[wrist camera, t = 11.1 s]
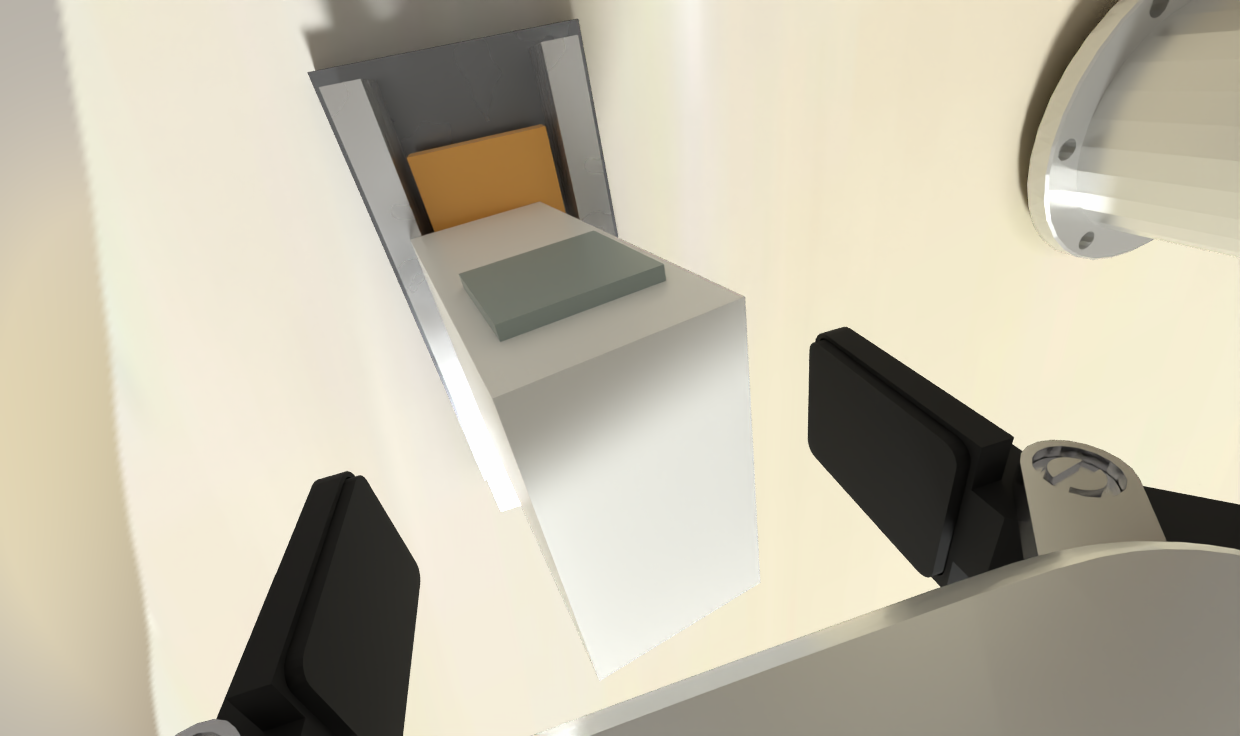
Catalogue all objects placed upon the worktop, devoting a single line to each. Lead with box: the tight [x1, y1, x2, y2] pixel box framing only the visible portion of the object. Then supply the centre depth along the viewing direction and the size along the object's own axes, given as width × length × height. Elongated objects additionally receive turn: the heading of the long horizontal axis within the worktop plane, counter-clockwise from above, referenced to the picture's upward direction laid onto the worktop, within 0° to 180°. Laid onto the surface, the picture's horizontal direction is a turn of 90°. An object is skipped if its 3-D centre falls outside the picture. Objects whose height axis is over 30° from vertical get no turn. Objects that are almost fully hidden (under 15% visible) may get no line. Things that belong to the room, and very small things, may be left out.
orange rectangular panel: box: [407, 124, 566, 232], centre depth 18 cm, size 4×11×1 cm, turn 10°
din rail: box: [307, 19, 618, 511], centre depth 18 cm, size 8×16×4 cm, turn 10°
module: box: [410, 202, 760, 681], centre depth 13 cm, size 4×7×10 cm, turn 10°
